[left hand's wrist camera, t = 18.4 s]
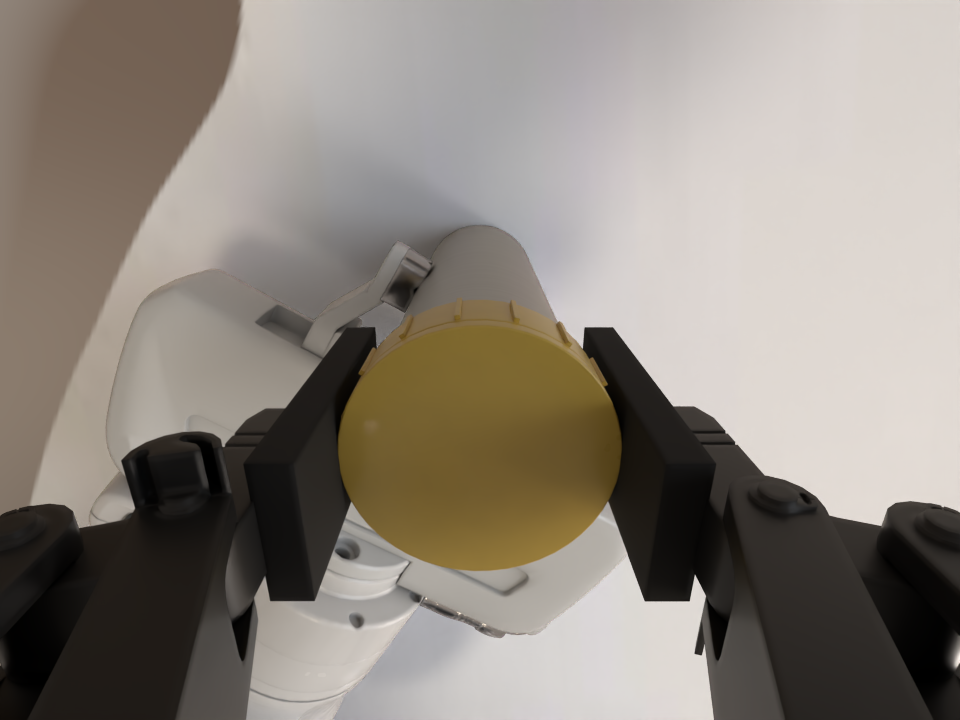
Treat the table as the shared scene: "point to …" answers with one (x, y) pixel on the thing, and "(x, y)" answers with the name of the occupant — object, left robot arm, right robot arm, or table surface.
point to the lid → (479, 437)
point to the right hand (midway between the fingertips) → (491, 298)
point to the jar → (480, 272)
